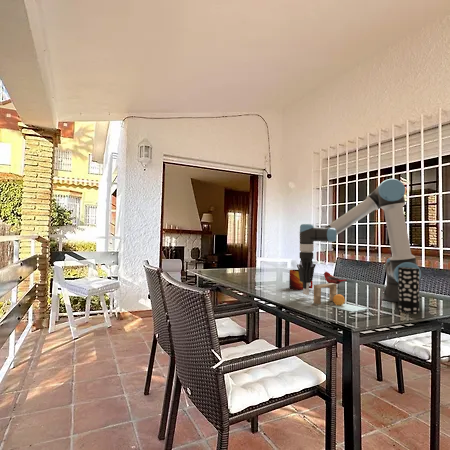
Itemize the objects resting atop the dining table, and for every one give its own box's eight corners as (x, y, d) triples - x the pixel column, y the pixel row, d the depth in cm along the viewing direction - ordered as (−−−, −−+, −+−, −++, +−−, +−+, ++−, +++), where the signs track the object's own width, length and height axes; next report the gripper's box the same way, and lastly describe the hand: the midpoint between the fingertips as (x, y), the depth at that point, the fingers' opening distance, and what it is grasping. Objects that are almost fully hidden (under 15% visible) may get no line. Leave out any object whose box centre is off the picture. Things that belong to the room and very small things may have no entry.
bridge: (336, 301, 160) (336, 283, 160) (318, 304, 152) (318, 285, 153) (331, 300, 163) (331, 283, 163) (313, 303, 155) (313, 284, 155)
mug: (312, 290, 193) (313, 271, 193) (291, 290, 193) (291, 271, 193) (308, 287, 203) (308, 269, 203) (287, 287, 202) (288, 269, 203)
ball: (336, 299, 155) (343, 307, 151) (329, 300, 152) (336, 308, 148) (341, 291, 153) (349, 299, 149) (334, 292, 150) (342, 300, 146)
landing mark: (368, 309, 144) (368, 308, 144) (352, 312, 137) (352, 311, 137) (345, 304, 154) (345, 303, 154) (330, 306, 147) (330, 306, 147)
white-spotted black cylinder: (394, 309, 145) (394, 267, 145) (410, 309, 145) (410, 267, 146) (406, 313, 136) (406, 269, 137) (423, 313, 137) (423, 269, 138)
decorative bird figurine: (324, 285, 214) (324, 271, 215) (348, 289, 201) (348, 273, 201) (321, 285, 212) (322, 271, 213) (346, 289, 199) (346, 274, 200)
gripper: (309, 251, 176) (308, 292, 175) (293, 251, 169) (292, 294, 168) (319, 252, 170) (319, 294, 169) (303, 252, 163) (302, 296, 162)
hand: (306, 294), depth 168 cm, fingers closed
